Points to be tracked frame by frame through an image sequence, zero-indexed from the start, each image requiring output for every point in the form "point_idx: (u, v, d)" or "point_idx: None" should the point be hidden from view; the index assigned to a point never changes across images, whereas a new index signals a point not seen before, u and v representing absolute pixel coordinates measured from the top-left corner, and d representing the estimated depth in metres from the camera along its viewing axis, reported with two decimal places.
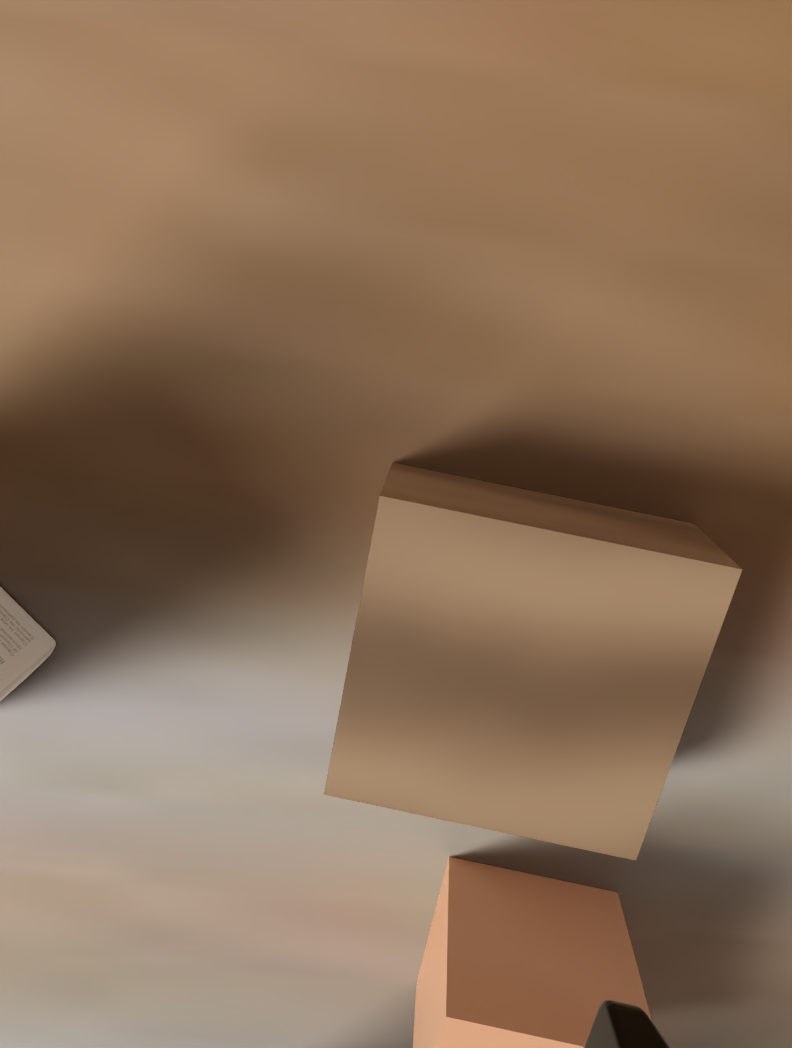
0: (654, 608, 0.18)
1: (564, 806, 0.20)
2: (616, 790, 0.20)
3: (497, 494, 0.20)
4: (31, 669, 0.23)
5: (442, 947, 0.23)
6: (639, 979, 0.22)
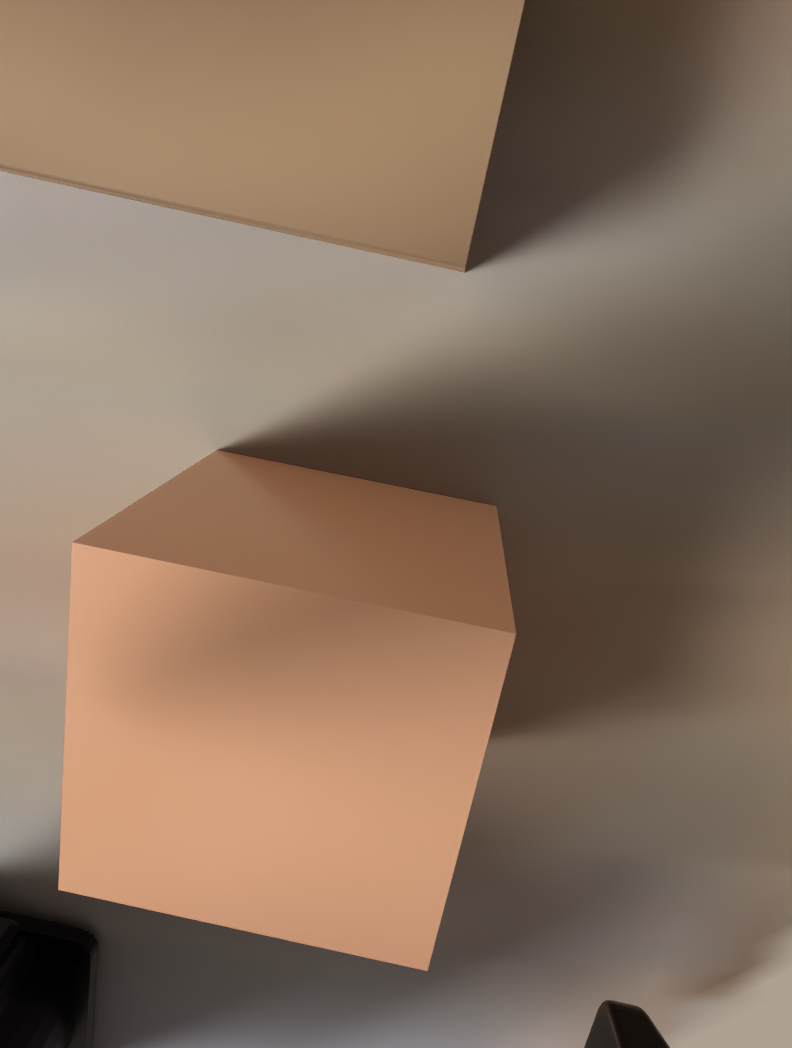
0: None
1: (317, 131, 0.10)
2: (416, 78, 0.10)
3: None
4: None
5: None
6: (502, 563, 0.12)
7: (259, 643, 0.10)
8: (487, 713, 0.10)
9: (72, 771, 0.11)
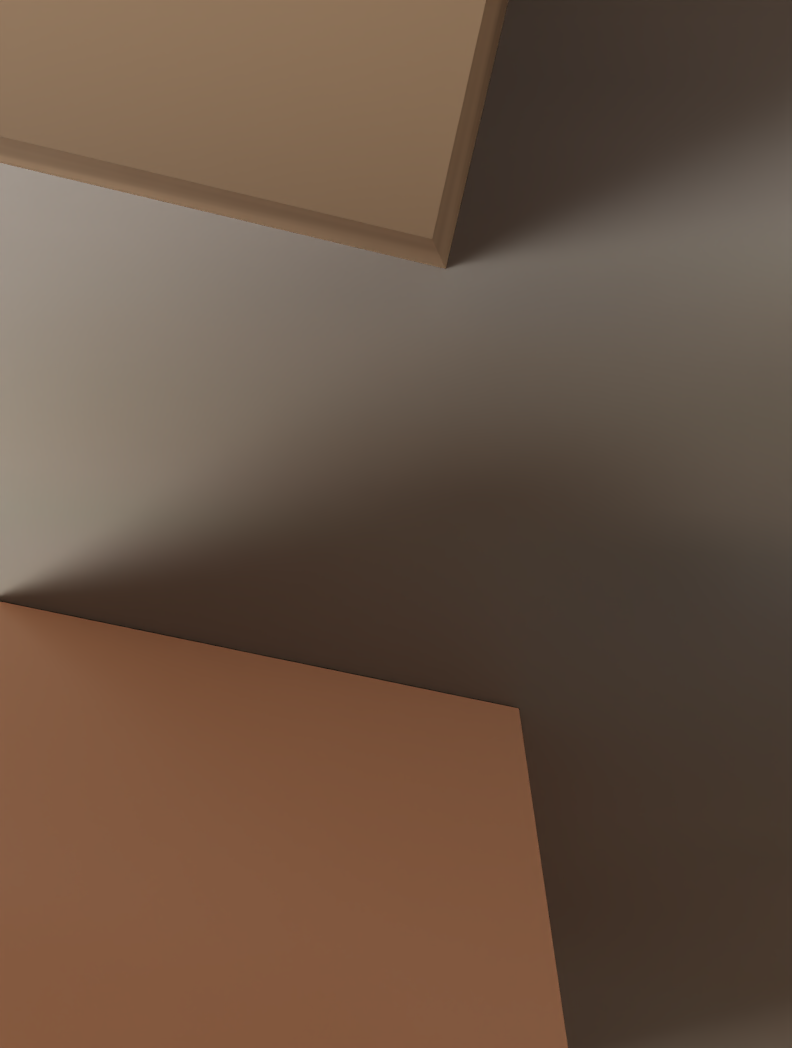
0: None
1: None
2: None
3: None
4: None
5: None
6: (554, 1002, 0.05)
7: None
8: None
9: None
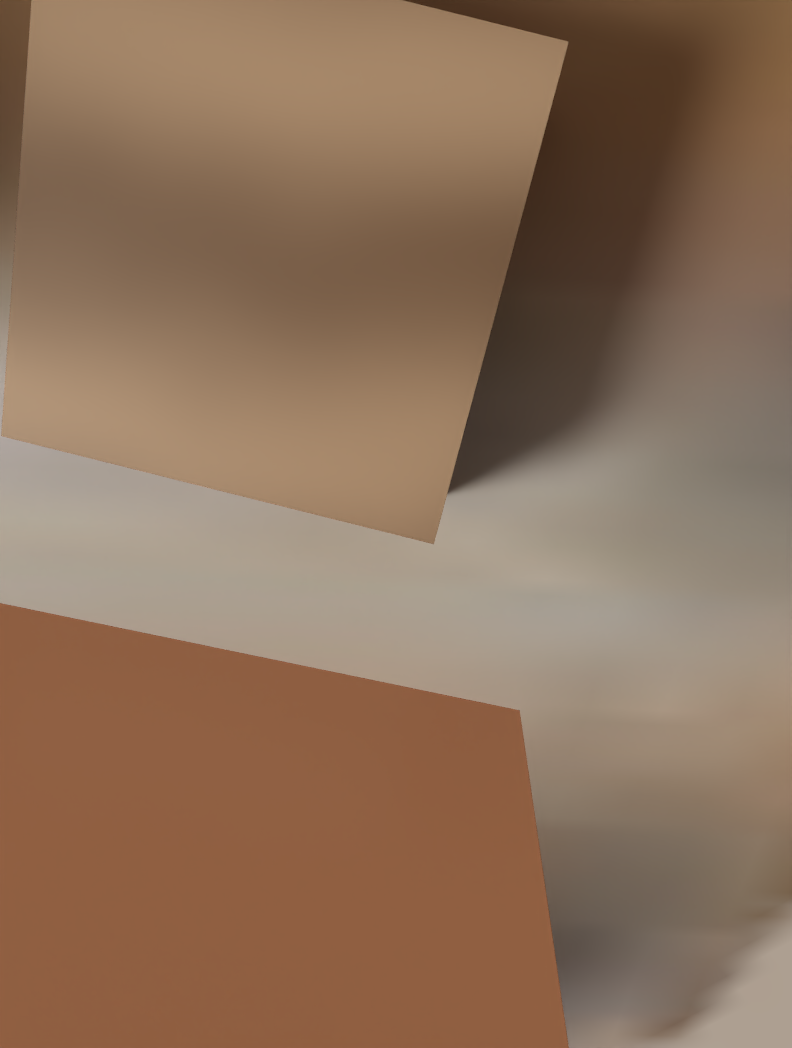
0: (443, 112, 0.12)
1: (332, 455, 0.14)
2: (402, 427, 0.14)
3: None
4: None
5: None
6: (556, 1006, 0.05)
7: None
8: None
9: None
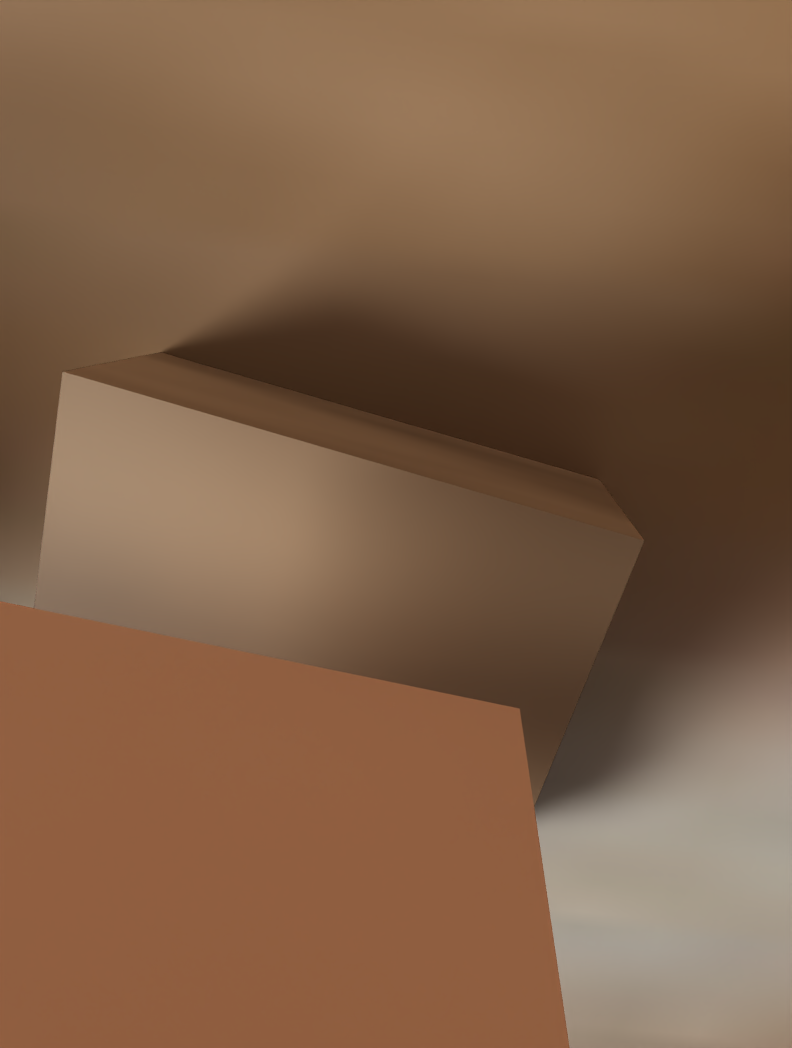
0: (501, 592, 0.11)
1: None
2: None
3: (296, 404, 0.13)
4: None
5: None
6: (556, 1005, 0.05)
7: None
8: None
9: None
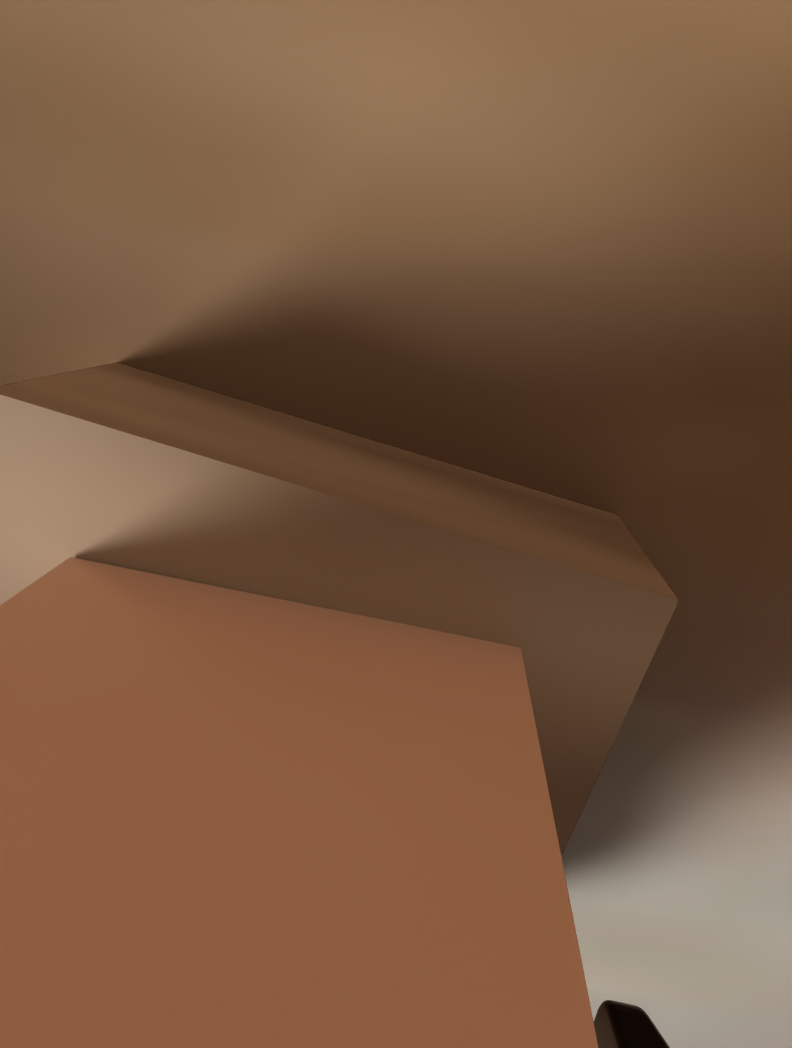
0: None
1: None
2: None
3: (271, 426, 0.11)
4: None
5: None
6: (552, 838, 0.06)
7: None
8: None
9: None
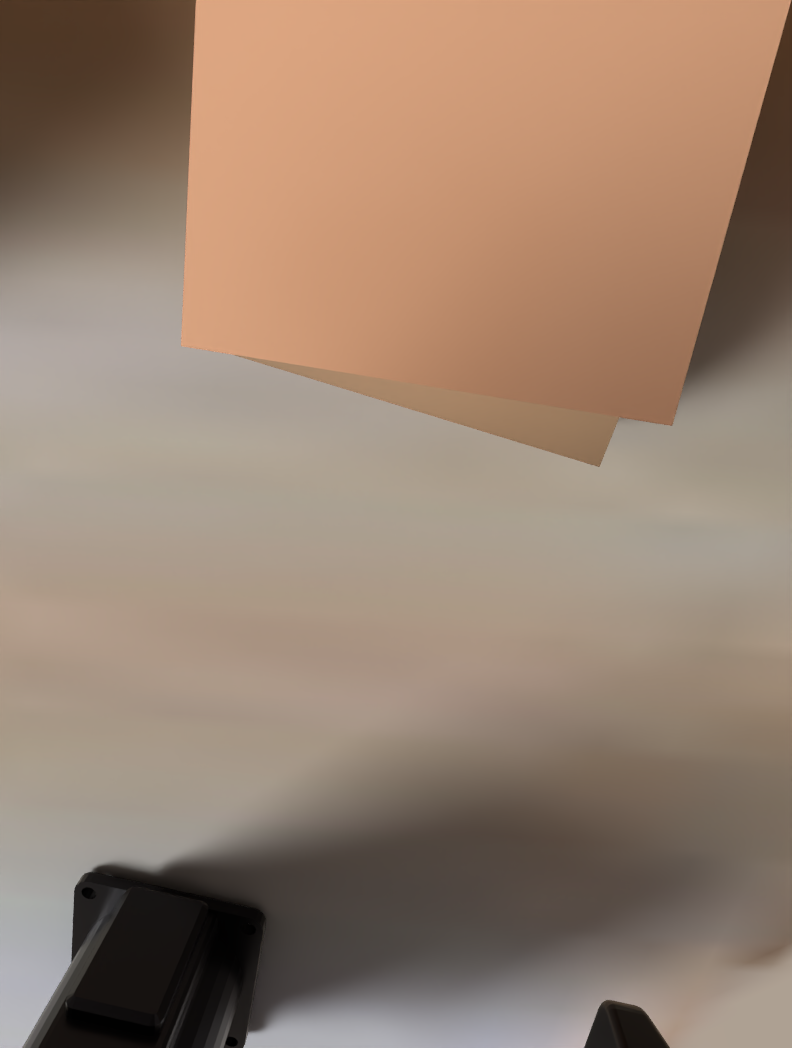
0: None
1: None
2: None
3: None
4: None
5: None
6: None
7: None
8: None
9: (202, 136, 0.08)
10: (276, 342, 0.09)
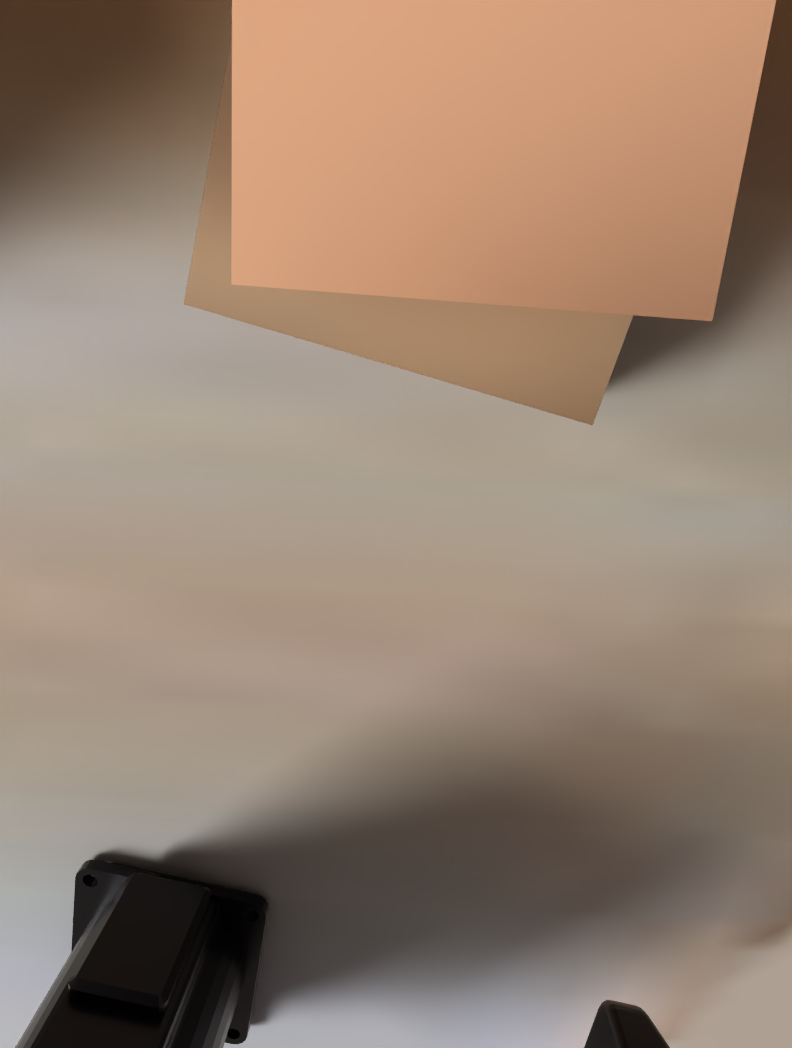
0: None
1: (504, 333, 0.15)
2: None
3: None
4: None
5: None
6: None
7: None
8: None
9: (243, 77, 0.08)
10: (323, 272, 0.09)
